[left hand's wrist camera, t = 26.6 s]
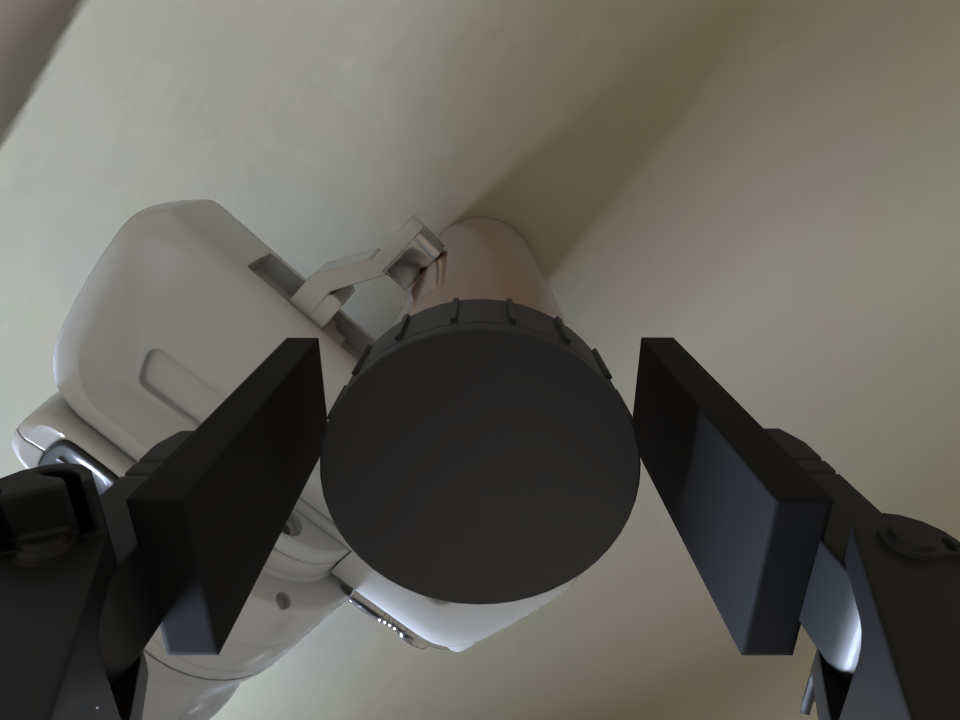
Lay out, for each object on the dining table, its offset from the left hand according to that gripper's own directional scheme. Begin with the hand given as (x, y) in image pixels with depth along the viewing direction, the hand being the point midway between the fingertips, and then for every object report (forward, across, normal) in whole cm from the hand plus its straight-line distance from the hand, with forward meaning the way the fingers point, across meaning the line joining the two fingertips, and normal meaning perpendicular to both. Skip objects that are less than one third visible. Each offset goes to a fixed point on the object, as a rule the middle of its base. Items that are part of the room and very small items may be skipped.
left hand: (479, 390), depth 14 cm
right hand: (+6, -1, -1) cm, 6 cm away
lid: (-4, 0, 0) cm, 4 cm away
